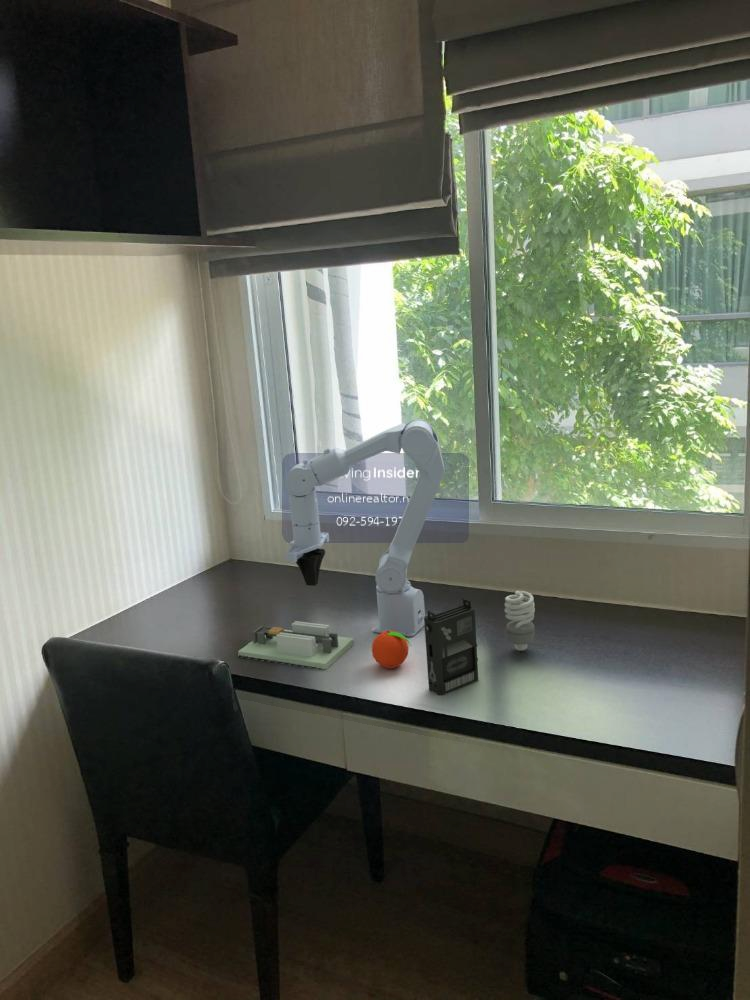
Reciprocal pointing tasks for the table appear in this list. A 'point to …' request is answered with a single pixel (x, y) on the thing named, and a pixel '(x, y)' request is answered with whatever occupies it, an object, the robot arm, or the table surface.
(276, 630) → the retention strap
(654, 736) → the table surface
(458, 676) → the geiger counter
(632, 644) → the table surface
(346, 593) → the table surface
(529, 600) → the light bulb
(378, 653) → the clementine
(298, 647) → the heatsink board
